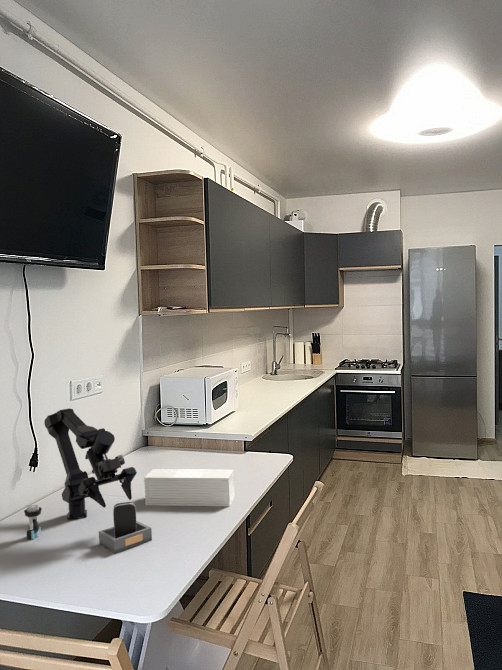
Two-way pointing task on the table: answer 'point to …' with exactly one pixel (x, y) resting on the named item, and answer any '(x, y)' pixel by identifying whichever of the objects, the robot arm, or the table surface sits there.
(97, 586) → the table surface
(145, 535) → the tray
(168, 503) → the stack of papers
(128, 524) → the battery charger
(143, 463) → the table surface
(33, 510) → the push button
